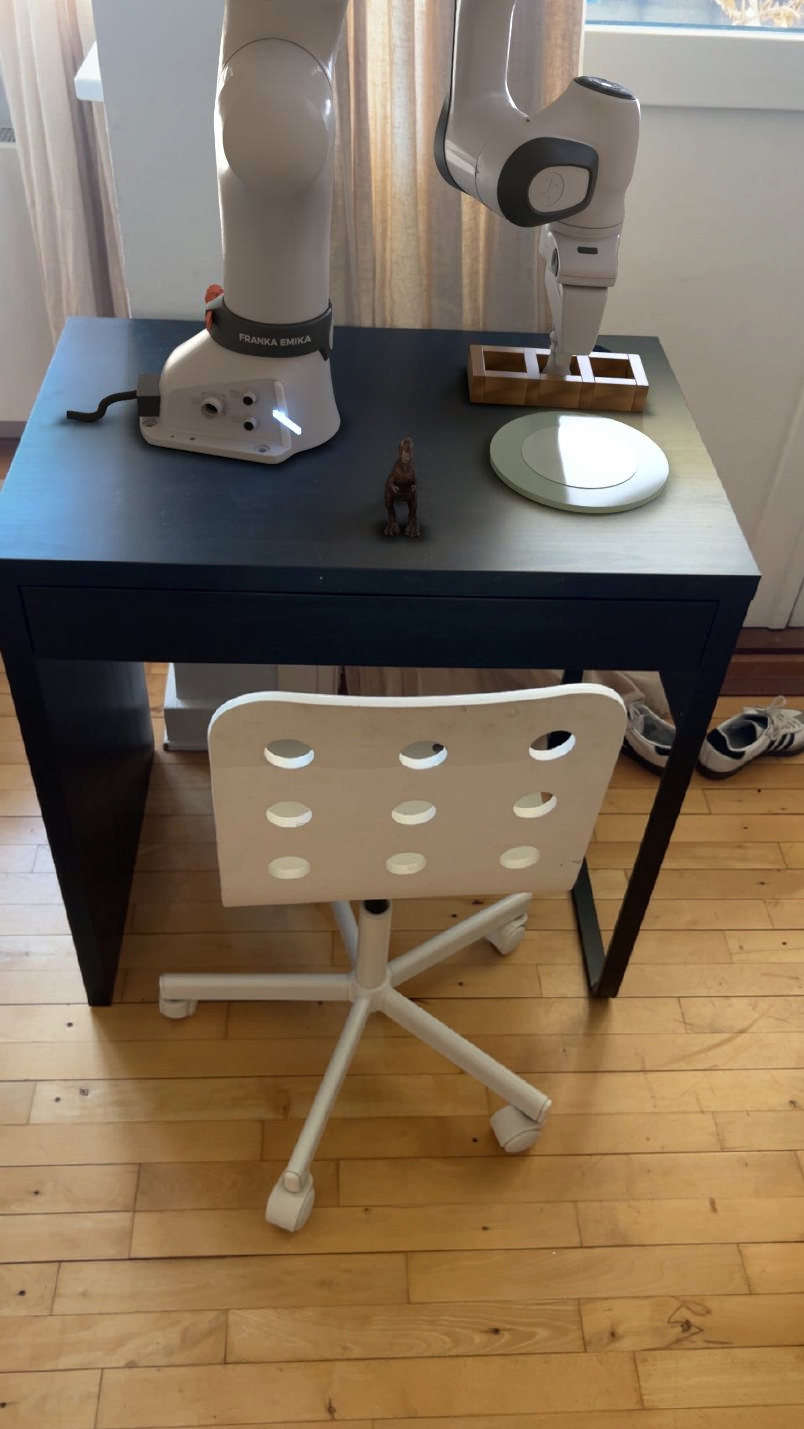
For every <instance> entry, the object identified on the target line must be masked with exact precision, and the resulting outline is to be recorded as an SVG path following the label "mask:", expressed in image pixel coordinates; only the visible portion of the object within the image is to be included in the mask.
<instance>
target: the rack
mask: <svg viewBox="0 0 804 1429" xmlns="http://www.w3.org/2000/svg"><path fill="white" fill-rule="evenodd" d="M550 351H551V350H550V348H536V347H521V346H520V347H519V346H518V347H517V346H505V345H504V346H501V345H485V344H483V345H481V344H470V345H469V352H468V361H467V372H466V373H467V382H468V393H469V402H470V403H477V404H479V403H481V404H492V405H493V404H494V405H495V404H496V405H512V406H529V407H545V408H546V407H547V408H563V409H564V408H565V409H581V410H600V411H619V412H620V411H621V412H632V413H633V412H636V413H644V410H645V407H646V402H647V398H648V393H649V389H650V384H649V381H648V378H647V374H646V372H645V369H644V366H643V362H642V359H641V356H640V354H637V353H636V354H633V353H619V352H618V353H617V352H599V351H592V352H591V353H590V354H589V355H587V356H579V355H572V357H571V362H570V365H569V370H570V372H571V375H554V374H541V372H543V369H544V368H545V367H546V365H547V362H548V359H549V356H550Z"/></svg>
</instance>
